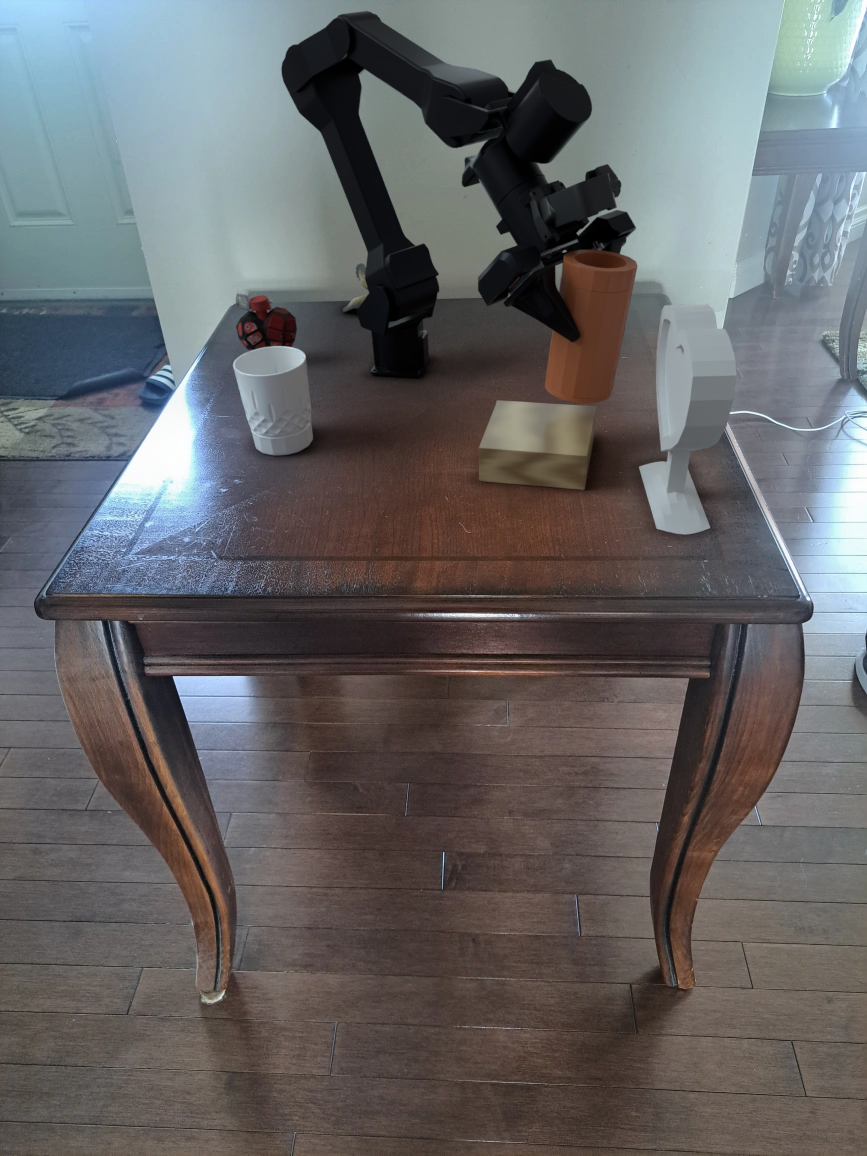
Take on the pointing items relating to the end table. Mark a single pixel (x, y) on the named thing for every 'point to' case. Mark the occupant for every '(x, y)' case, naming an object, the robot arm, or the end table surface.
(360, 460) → the end table surface
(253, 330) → the grenade
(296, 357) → the white cup
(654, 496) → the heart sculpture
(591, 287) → the jar
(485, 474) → the birch block
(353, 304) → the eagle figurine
